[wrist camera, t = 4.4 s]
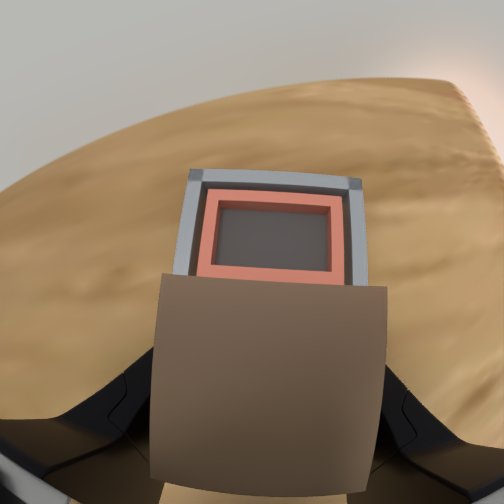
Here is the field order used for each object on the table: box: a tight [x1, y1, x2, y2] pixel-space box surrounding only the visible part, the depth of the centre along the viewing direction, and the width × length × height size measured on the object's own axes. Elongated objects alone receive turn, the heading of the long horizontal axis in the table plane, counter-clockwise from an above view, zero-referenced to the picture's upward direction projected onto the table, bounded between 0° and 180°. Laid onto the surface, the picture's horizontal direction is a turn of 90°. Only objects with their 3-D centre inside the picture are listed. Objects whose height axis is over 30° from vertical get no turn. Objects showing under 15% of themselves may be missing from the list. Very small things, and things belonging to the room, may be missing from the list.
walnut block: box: [150, 273, 387, 497], centre depth 10 cm, size 4×4×11 cm
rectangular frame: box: [196, 189, 344, 285], centre depth 19 cm, size 6×9×2 cm, turn 86°
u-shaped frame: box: [172, 169, 368, 286], centre depth 17 cm, size 18×12×2 cm, turn 176°
